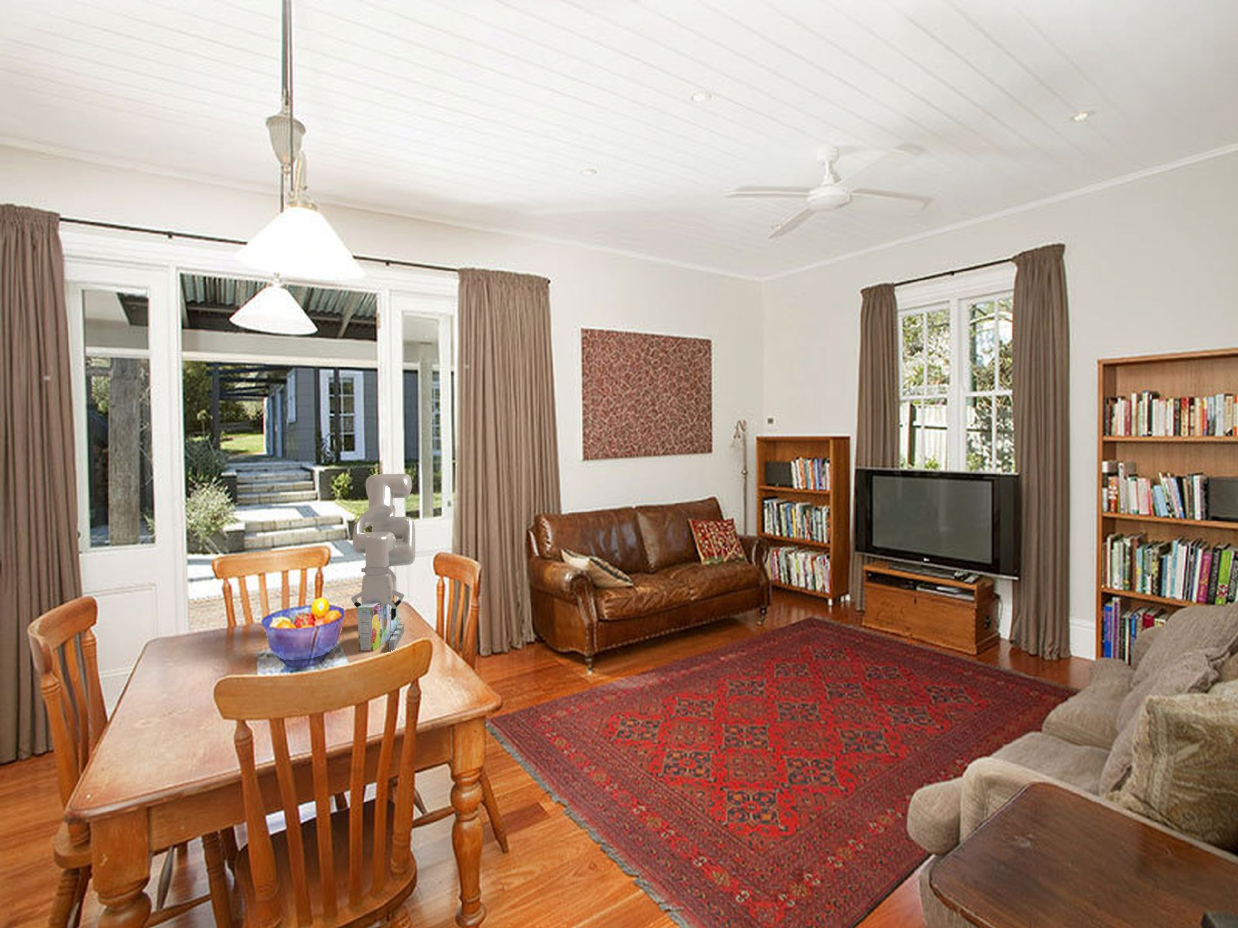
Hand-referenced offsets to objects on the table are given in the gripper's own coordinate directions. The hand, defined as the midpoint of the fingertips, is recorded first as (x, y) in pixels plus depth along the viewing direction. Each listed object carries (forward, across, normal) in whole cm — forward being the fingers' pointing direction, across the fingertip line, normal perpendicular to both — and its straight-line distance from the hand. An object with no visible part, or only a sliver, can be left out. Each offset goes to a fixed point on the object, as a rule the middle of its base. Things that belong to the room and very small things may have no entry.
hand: (378, 619), depth 220 cm
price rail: (+8, +6, 0) cm, 10 cm away
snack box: (+8, 0, +1) cm, 8 cm away
